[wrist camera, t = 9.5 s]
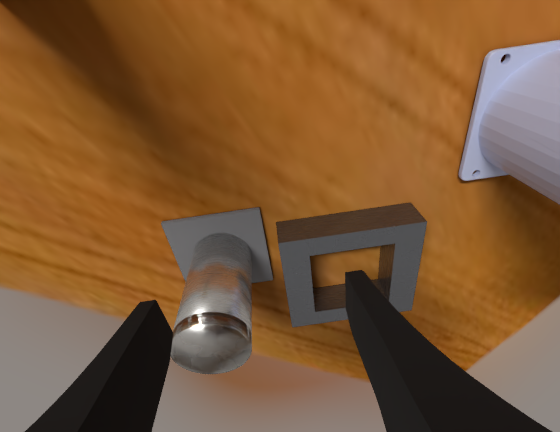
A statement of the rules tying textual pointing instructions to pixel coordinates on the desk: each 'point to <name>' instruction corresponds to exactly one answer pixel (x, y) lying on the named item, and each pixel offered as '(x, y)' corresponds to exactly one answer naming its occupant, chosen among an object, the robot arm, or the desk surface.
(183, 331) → the metal cylinder
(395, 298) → the housing
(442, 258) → the desk surface
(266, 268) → the mat
